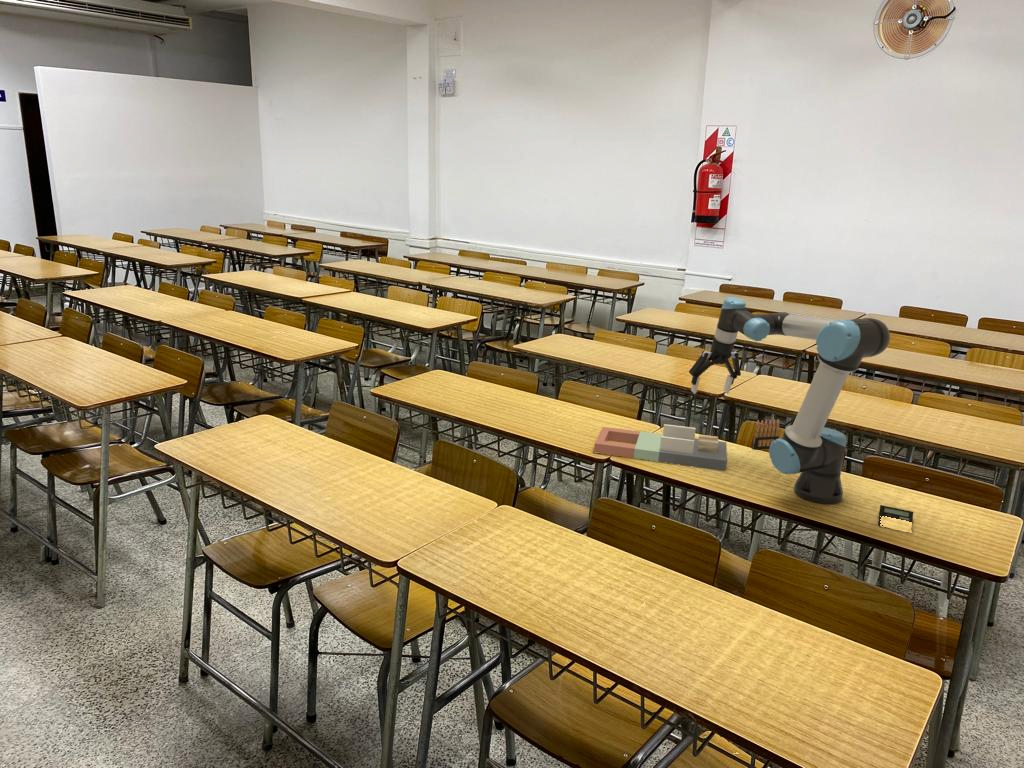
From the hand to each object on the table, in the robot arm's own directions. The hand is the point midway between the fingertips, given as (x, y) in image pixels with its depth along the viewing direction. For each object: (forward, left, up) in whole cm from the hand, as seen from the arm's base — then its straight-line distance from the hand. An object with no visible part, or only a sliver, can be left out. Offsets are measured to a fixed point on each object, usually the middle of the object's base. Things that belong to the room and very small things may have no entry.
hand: (709, 392), depth 266 cm
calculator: (-37, -59, -26) cm, 75 cm away
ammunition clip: (+17, -23, -25) cm, 38 cm away
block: (-3, -2, -21) cm, 21 cm away
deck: (-3, +16, -25) cm, 30 cm away
